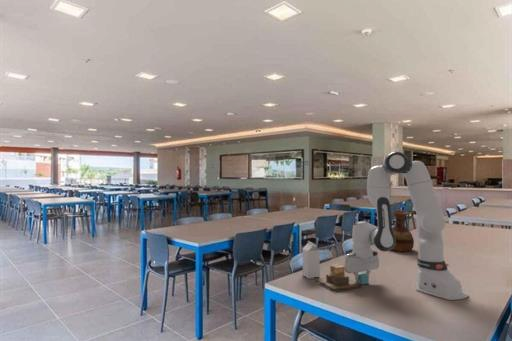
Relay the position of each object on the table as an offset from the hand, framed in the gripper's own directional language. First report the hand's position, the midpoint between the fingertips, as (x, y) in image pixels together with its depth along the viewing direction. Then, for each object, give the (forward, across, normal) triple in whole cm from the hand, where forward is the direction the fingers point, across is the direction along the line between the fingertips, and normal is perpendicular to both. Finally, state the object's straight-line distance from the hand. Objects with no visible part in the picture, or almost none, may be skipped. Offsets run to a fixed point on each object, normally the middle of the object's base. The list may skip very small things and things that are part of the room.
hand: (362, 279), depth 164 cm
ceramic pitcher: (+2, +80, +50) cm, 94 cm away
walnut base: (+2, -13, +3) cm, 14 cm away
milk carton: (+2, -18, +20) cm, 27 cm away
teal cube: (+2, 0, 0) cm, 2 cm away
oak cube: (-3, -13, +3) cm, 14 cm away
